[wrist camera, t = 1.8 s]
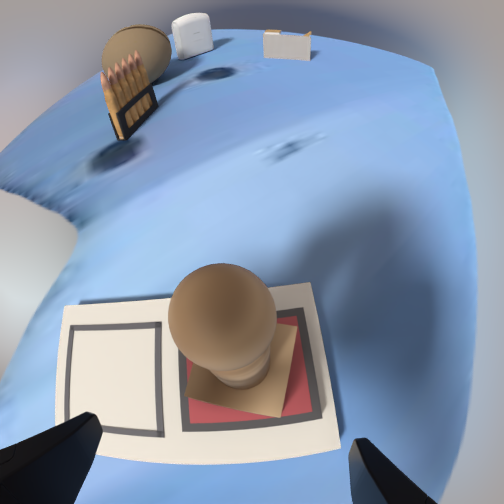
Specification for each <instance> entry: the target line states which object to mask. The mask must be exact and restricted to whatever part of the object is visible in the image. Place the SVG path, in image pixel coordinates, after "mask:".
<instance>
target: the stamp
mask: <svg viewBox="0 0 504 504" xmlns="http://www.w3.org/2000/svg"><path fill="white" fill-rule="evenodd" d="M168 324H169V329H170V333H171V336H172V338H173V340H174V343H175V344H176V346H177V347H178V349H179V350H180V351H181V352H182V353H183V355H184V356H186V357H187V358H188V359H189V360H190V361H192V362H193V365H192V369H191V372H190V376H189V380H188V383H187V387H186V390H185V394H184V396H186V397H189V398H191V399H194V400H198V401H202V402H205V403H209V404H213V405H217V406H221V407H226V408H230V409H235V410H239V411H244V412H249V413H254V414H259V415H265V416H271V417H277V418H280V417H281V413H282V408H283V403H284V398H285V393H286V388H287V383H288V378H289V373H290V367H291V362H292V356H293V350H294V344H295V339H296V332H297V326H291V325H285V324H278V323H277V313H276V307H275V303H274V299H273V297H272V295H271V293H270V291H269V289H268V288H267V286H266V285H265V284H264V283H263V281H262V280H261V279H260V278H258V277H257V276H256V275H255V274H254V273H252V272H251V271H249V270H247V269H245V268H242V267H240V266H237V265H233V264H225V263H218V264H211V265H207V266H204V267H201V268H199V269H197V270H195V271H193V272H192V273H190V274H189V275H188V276H186V277H185V278H184V279H183V280H182V281H181V282H180V284H179V285H178V286H177V288H176V289H175V291H174V293H173V295H172V298H171V300H170V304H169V309H168Z"/></svg>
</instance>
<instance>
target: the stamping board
mask: <svg viewBox="0 0 504 504" xmlns="http://www.w3.org/2000/svg"><path fill="white" fill-rule="evenodd" d="M268 289H269V291H270V293H271V295H272V297H273V299H274V303H275V307H276V311H279V310H286V309H293V308H300V307H303V308H304V313H305V318H306V324H307V329H308V334H309V340H310V345H311V351H312V356H313V362H314V368H315V374H316V380H317V386H318V392H319V398H320V404H321V411H322V417H323V418H322V419H317V420H312V421H307V422H301V423H295V424H288V425H281V426H273V427H265V428H256V429H245V430H231V431H210V432H182V423H181V408H180V390H179V366H178V347H177V346H176V344H175V343H174V340H173V338H172V336H171V333H170V329H169V324H168V309H169V304H170V300H171V298H166V299H154V300H142V301H130V302H116V303H101V304H85V305H67V306H65V307H64V313H63V319H62V326H61V333H60V341H59V350H58V361H57V374H56V396H55V426H57V425H59V424H61V423H63V422H65V421H67V420H69V419H72V418H74V417H76V416H78V415H80V414H82V413H84V412H91V413H94V414H96V415H97V417H98V419H99V421H100V424H101V426H102V428H103V434H102V437H101V440H100V443H99V446H98V449H97V452H96V454H97V455H102V456H108V457H114V458H121V459H128V460H135V461H144V462H155V463H169V464H198V465H208V464H238V463H252V462H263V461H272V460H280V459H287V458H294V457H300V456H306V455H311V454H317V453H322V452H326V451H331V450H335V449H340V448H341V445H340V438H339V431H338V425H337V418H336V412H335V406H334V400H333V394H332V388H331V382H330V376H329V371H328V365H327V360H326V355H325V350H324V344H323V339H322V334H321V329H320V325H319V320H318V315H317V310H316V305H315V301H314V296H313V292H312V287H311V283H310V282H307V283H300V284H292V285H285V286H277V287H269V288H268Z"/></svg>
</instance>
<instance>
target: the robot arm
mask: <svg viewBox="0 0 504 504" xmlns="http://www.w3.org/2000/svg"><path fill="white" fill-rule="evenodd" d="M102 434H103V428H102V426H101V424H100V421H99V419H98V417H97V415H96V414H94V413H91V412H84V413H82V414H80V415H78V416H76V417H74V418H72V419H69V420H67V421H65V422H63V423H61V424H59V425H57V426H55V427H52V428H50V429H48V430H46V431H44V432H42V433H39V434H37V435H35V436H33V437H30V438H28V439H26V440H23V441H21V442H19V443H17V444H14V445H11V446H9V447H6V448H4V449H1V450H0V504H74V502H75V500H76V498H77V496H78V493H79V491H80V489H81V487H82V485H83V483H84V480H85V478H86V476H87V474H88V472H89V470H90V468H91V465H92V463H93V460H94V458H95V455H96V452H97V449H98V446H99V443H100V440H101V437H102ZM349 471H350V485H351V496H352V502H353V504H437V503H436V502H435V501H434V500H433V499H431V498H430V497H429V496H427V494H426V493H425V492H423V491H422V490H421V489H420V488H419V487H418V486H417V485H416V484H415V483H414V482H412V481H411V480H410V479H409V478H408V477H407V476H406V475H405V474H404V473H403V472H402V471H401V470H400V469H398V468H397V467H396V466H395V465H394V464H393V463H392V462H391V461H390V460H389V459H388V458H387V457H386V456H385V455H384V454H383V453H382V452H381V451H380V450H379V449H378V448H377V447H376V446H375V445H374V444H372V443H371V442H370V441H369V440H368V439H367V438H357V439H355V440H354V441H353V443H352V446H351V449H350V452H349Z"/></svg>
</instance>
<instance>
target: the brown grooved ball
mask: <svg viewBox="0 0 504 504" xmlns="http://www.w3.org/2000/svg"><path fill="white" fill-rule="evenodd" d="M135 50H137V51H138V52H139V54H140V56H141V58H142V62H143V64H144V68H145V69H146V72H147V75H148V79H149V83H152V82H153V81H155V80H156V79H158V78H159V77H160V76H161V75H162V74H163V73H164V71H165V70H166V68H167V67H168V65H169V62H170V59H171V52H172V50H171V44H170V41H169V39H168V37H167V36H166V34H165V33H164V32H163V31H161V30H160V29H158V28H156V27H153V26H149V25H131V26H130V27H125V28H123V29H121V30H119V31H118V32H117V33H115V34H114V35H113V36H112V37H111V38H110V40H109V41H108V42H107V44H106V46H105V48H104V51H103V55H102V67H103V70H104V73H105V74H106V76H107V77H108V68H109V67H110V68H111V69H112V70H113V71H114V73H115V63H116V62H117V63H118V64H119V65H120V67H121V69H122V58H124V59H125V60H126V61H127V63H128V56H129V54H131V55H132V56H133V58H134V60H135ZM128 65H129V63H128ZM122 71H123V70H122ZM115 75H116V73H115ZM108 78H109V77H108Z"/></svg>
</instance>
